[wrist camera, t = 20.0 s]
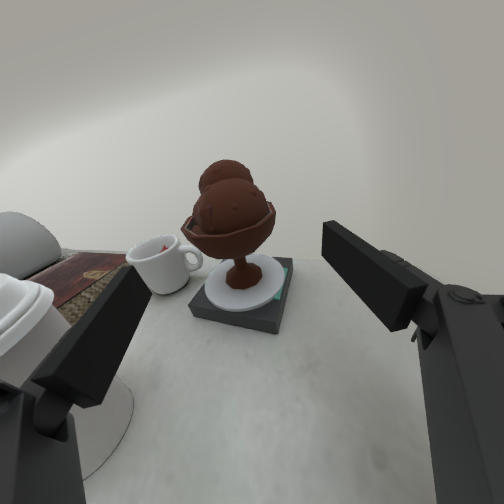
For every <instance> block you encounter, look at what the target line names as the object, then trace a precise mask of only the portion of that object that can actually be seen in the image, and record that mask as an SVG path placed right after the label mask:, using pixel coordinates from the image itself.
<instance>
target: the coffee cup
mask: <svg viewBox="0 0 504 504" xmlns="http://www.w3.org/2000/svg"><path fill="white" fill-rule="evenodd" d="M53 299H54V293H53V291H52V290H51V289H49V288H47V287H45V286H43V285H41V284H38V283H35V282H32V281H27V280H18V279H15V278H13V277H11V276H9V275H7V274H3V273H0V379H1V380H3V381H5V382H7V383H9V384H11V385H13V386H15V387H17V388H20V387H21V385H22V384H23V383H24V382H25V381H26V379H27V378H28V377H29V376H30V375H31V373H32V372H33V371H34V370H35V369H36V367H37V366H38V365H39V364H40V363H41V361H42V360H43V359H44V358H45V357H46V355H47V354H48V353H49V352H51V349H52V348H53V347H54V346H55V344H56V343H58V341H59V340H60V338H61V337H62V336H63V335H64V334H65V332H66V331H67V330H68V329H70V328H71V327H72V326H71V325H70V324H69V323H68V322H67V321H66V319H65V318H64V317H63V316H62V315H61V314H60V313H59V312H58V310H57V309H56V308H55V307H54V306H53V305H52V302H53ZM133 405H134V401H133V395H132V393H131V391H130V390H129V389H128V388H127V387H126V385H125V384H124V383H123V382H122V381H121V380H120V379H119V378H118V377H117V376H116V375H115V376H114V379H113V381H112V383H111V385H110V387H109V389H108V392H107V394H106V396H105V398H104V400H103V402H102V404H101V405H97V406H93V407H89V408H85V409H83V408H81V407H79V406H77V405H75V404H73V406H72V407H71V409H70V411H69V413H71V414H72V415H73V417H74V421H75V429H76V436H77V443H78V450H79V457H80V464H81V471H82V479H83V480H84V479H86V478H87V477H88V476H90V475H91V474H92V473H93V472H95V471H96V470H97V469H98V468H99V467H100V466H101V465H102V464H103V463H104V462H105V461H106V460H107V458H108V457H109V456H110V455H111V453H112V452H113V451H114V449H115V448H116V447H117V445H118V444H119V442H120V440H121V439H122V437H123V435H124V433H125V431H126V429H127V427H128V425H129V422H130V419H131V416H132V412H133Z"/></svg>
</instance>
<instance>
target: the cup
mask: <svg viewBox="0 0 504 504" xmlns="http://www.w3.org/2000/svg"><path fill="white" fill-rule="evenodd" d="M188 252H190V253H193V254H194V255H195V256H196V257H197V260H198V263H197V264H191V263H189V262H188V260H187V259H186V255H185V254H186V253H188ZM126 261H127V262H128V263H129V264H130V265H133V266H134V267H135V269H136V270H137V272H138V273H139V275H140V276H141V278H142V279H143V281H144V282H145V283H146V284H147V285H148V286H149V287H150V288H151V290H153V291H154V292H156V293H158V294H169V293H172V292H175V291H177V290H179V289H180V288H181V287H183V286H184V285H185V284H186V282H187V281H188V279H189V272H191V271H196V270H198V269H200V268H201V266H202V264H203V256H202V254H201V252H200V250H199V249H198V248H196V247H195V246H191V245H181V243H180V240H179V238H178V237H177V236H175V235H169V234H168V235H160V236H156V237H153V238H150V239H147V240H145V241H143V242H141V243H139V244H137V245H136V246H134V247H133V248H132V249H130V250H129V251H128V253H127V254H126Z"/></svg>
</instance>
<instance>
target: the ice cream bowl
mask: <svg viewBox="0 0 504 504" xmlns="http://www.w3.org/2000/svg"><path fill="white" fill-rule="evenodd" d="M199 190H200V193H201V196H200V197H199V199H198V200H197V202H196V204H195V205H194V208H193V213H192V216H190V217H188V219H187V220H186V221H185V223H184V224H183V226H182V228H181V231H182V232H183V234H184V235H185V237H186V238H187V240H188V241H190V242H191V243H192V244H193V245H194V246H195V247H196V248H198V249H199V250H200V251H201V252H203V253H204V254H206V255H207V256H209V257H212V258H215V259H233V260H234V264H235V266H233V267H232V268H231V269H230V270H229V271H228V272H227V273H226V284H227V285H228V286H230V287H231V288H232V289H242V290H245V289H247V288H250V287H252V286H255V285H257V283H258V282H259V281H260V280H261V278H262V277H263V276H262V270H261V268H260V267H259V266H258V265H256V264H254V263H247V261H246V257H245V256H247V255H250V254H252V253H253V252H255V250H256V249H257V248H258V247H259V246H260V245H261V244H262V243H263V242H264V241H265V240H266V239H267V238H268V237H269V236H270V234H271V233H272V230H273V227H274V225H275V216H276V211H275V209H274V207H273V205H272V203H271V202H267V201H266V199H265V196H264V194H263V192H262V191H260V190H259V189H258V188H257V186H256V185H254V184H253V179H252V177H251V174H250V171H249V169H248V168H246V167H245V166H244V165H243V164H241V163H239V162H237V161H233V160H220V161H217V162H215V163H213V164H212V165H210V166H209V167H208V168H207V169H206V170H205V171H204V173H203V174H202V175H201V178H200V181H199Z"/></svg>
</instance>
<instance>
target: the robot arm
mask: <svg viewBox="0 0 504 504" xmlns="http://www.w3.org/2000/svg"><path fill="white" fill-rule="evenodd" d="M322 256H323V258H324V259H325V260H326V261H327V262H328V263H329V264H330V265H331V266H332V267H333V269H334V270H335V271H336V272H337V273H338V274H339V275H340V276H341V277H342V279H343V280H344V281H345V282H346V283H347V284H348V285H349V286H350V287H351V288H352V290H353V291H354V292H355V293H356V294H357V295H358V296H359V297H360V298H361V300H362V301H363V302H364V303H365V304H366V305H367V306H368V307H369V308H370V310H371V311H372V312H373V313H374V314H375V315H376V316H377V317H378V318H379V319H380V321H381V322H382V323H383V324H384V325H385V326H386V327H387V328H388V329H389V331H390V332H394V331H398V330H402V329H406V328H407V327H408V325H409V323H410V321H411V320H412V321H413V322H414V323H415V324H416V325H418V327H417V328H416V330H415V332H414V334H413V336H412V338H411V342H414V341H415V340H416V338H417V343H418V351H419V359H420V367H421V376H422V384H423V392H424V400H425V408H426V417H427V425H428V433H429V441H430V450H431V458H432V466H433V474H434V482H435V491H436V499H437V504H504V295H481V294H480V293H478V292H476V291H474V290H472V289H469V288H466V287H463V286H459V285H451V284H448V285H444V284H442V283H440V282H439V281H437V280H436V279H434V278H432V277H431V276H429V275H428V274H426V273H424V272H423V271H421V270H420V269H418V268H416V267H415V266H412V264H410V263H409V262H407V261H404V259H402V258H400V257H399V256H397V255H396V254H394V253H391V252H388V251H385V250H381V251H379V250H377V249H376V248H374V247H373V246H371V245H370V244H368V243H367V242H365V241H364V240H363V239H361V238H360V237H358V236H357V235H355V234H354V233H352V232H351V231H349V230H348V229H346V228H344V227H343V226H342V225H340V224H339V223H337V222H336V221H334V220H332V221H328V222H323V234H322ZM151 296H152V293H151V291H150V290H149V288H148V287H147V285H146V284H145V282H144V281H143V279H142V278H141V276H140V275H139V273H138V272H137V270H136V269H135V267H134V266H133V265H130V266H125V267H121V269H120V270H119V271H118V272H117V273H116V275H115V276H114V277H113V278H112V280H111V281H110V282H109V283H108V285H107V286H106V287H105V288H104V289H103V291H102V292H101V293H100V294H99V296H98V297H97V298H96V299H95V301H94V302H93V303H92V304H91V305H90V307H89V308H88V309H87V310H86V312H85V313H84V314H83V315H82V317H81V318H80V319H79V320H78V321H77V322H76V323H75V324H74V325H73V326H72V327H71V328H70V329H68V330H67V331H66V332H65V334H64V335H63V336H62V337H61V338H60V340H59V341H58V343H56V344H55V346H54V347H53V348H52V349H51V352H49V353H48V354H47V355H46V357H45V358H44V359H43V360H42V361H41V363H40V364H39V365H38V366H37V367H36V369H35V370H34V371H33V372H32V373H31V375H30V376H29V377H28V378H27V379H26V381H25V382H24V383H23V384H22V385H21V387H20V388H17V387H15V386H13V385H11V384H9V383H7V382H5V381H3V380H1V379H0V504H86V500H85V493H84V486H83V479H82V471H81V464H80V457H79V450H78V443H77V436H76V429H75V421H74V417H73V415H72V414H71V413H69V411H70V409H71V407H72V406H73V404H75V405H77V406H79V407H81V408H83V409H85V408H89V407H93V406H97V405H101V404H102V402H103V400H104V398H105V396H106V394H107V392H108V389H109V387H110V385H111V383H112V381H113V379H114V376H115V374H116V372H117V370H118V368H119V365H120V363H121V361H122V359H123V357H124V355H125V352H126V350H127V348H128V346H129V344H130V342H131V339H132V337H133V335H134V333H135V331H136V329H137V326H138V324H139V322H140V320H141V318H142V316H143V313H144V311H145V309H146V307H147V305H148V303H149V300H150V298H151Z"/></svg>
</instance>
